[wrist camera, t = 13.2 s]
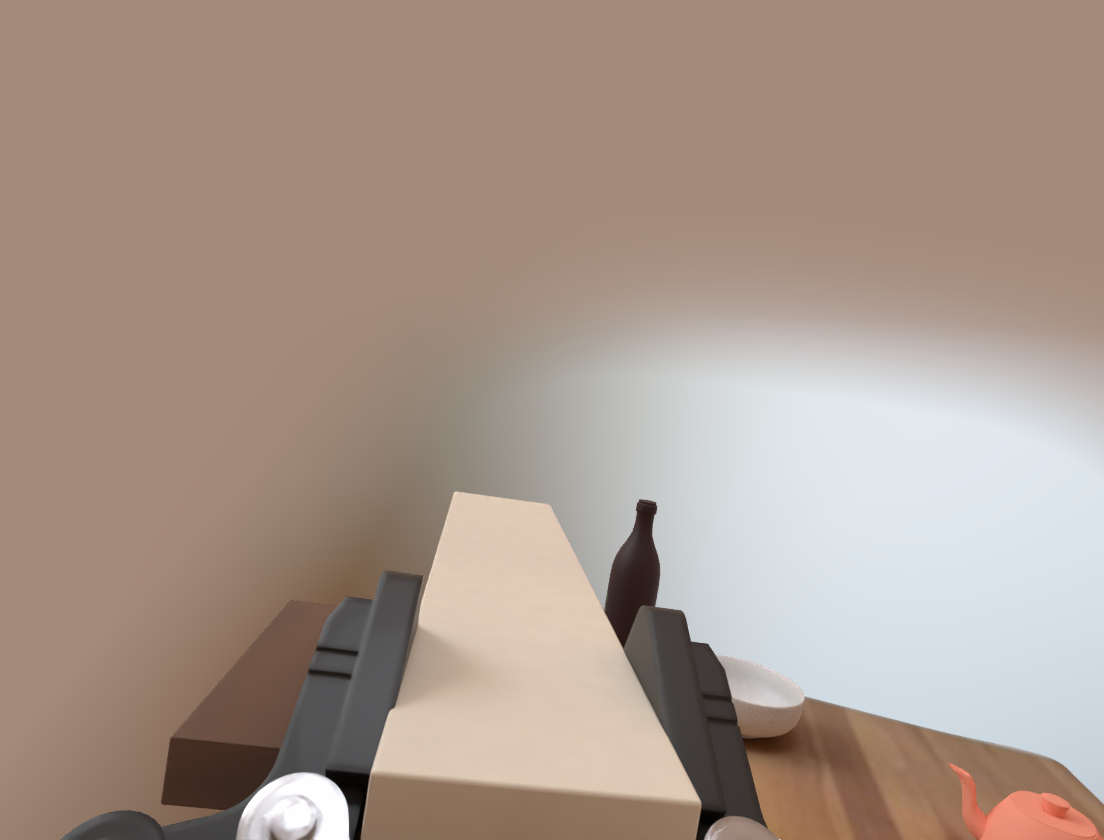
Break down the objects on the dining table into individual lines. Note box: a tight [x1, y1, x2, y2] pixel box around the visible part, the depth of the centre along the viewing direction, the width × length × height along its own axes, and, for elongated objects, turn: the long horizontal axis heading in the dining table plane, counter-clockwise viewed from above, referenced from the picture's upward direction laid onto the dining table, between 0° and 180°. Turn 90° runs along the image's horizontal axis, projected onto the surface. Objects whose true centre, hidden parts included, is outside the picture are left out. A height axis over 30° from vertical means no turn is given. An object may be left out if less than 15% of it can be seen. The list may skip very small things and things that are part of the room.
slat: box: [361, 492, 702, 840], centre depth 18 cm, size 4×20×2 cm, turn 6°
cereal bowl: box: [716, 655, 805, 739], centre depth 97 cm, size 17×17×7 cm
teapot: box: [949, 764, 1104, 840], centre depth 72 cm, size 12×18×10 cm
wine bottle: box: [604, 500, 660, 649], centre depth 97 cm, size 7×7×30 cm
